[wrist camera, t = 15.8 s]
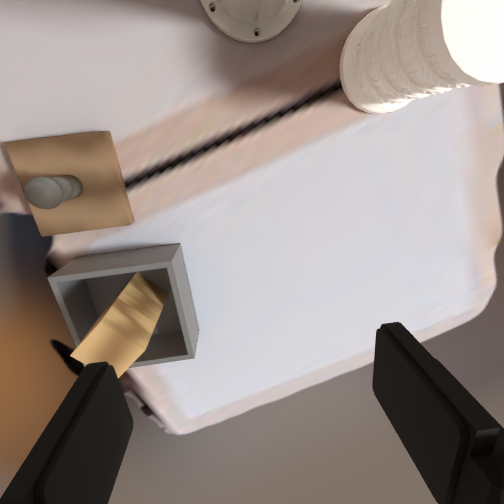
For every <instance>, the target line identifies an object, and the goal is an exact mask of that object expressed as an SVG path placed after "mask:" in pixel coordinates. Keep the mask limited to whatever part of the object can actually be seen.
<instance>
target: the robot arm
mask: <svg viewBox="0 0 504 504" xmlns="http://www.w3.org/2000/svg"><path fill="white" fill-rule="evenodd" d="M200 1H201V4H202V6H203V8H204V10H205V12H206V14H207V15H208V16H209V18H210V19H211V21H212V22H213V23H214V24H215V25H216V26H217V27H218V28H219V29H220V30H221V31H222V32H223V33H225V34H226V35H228V36H229V37H231V38H233V39H236V40H238V41H241V42H247V43H258V42H263V41H266V40H269V39H271V38H273V37H275V36H277V35H278V34H279V33H281V32H282V31H283V30H284V29H285V28H286V27H287V26H288V25H289V24H290V22H291V21H292V20H293V19H294V17H295V15H296V13H297V11H298V10H299V7H300V5H301V3H302V1H303V0H296V3H294V2H293V0H200ZM212 8H214V9H215V11H214V12H211V9H212ZM256 32H257V33H258V36H255V35H254V33H256ZM373 391H374V394H375V396H376V398H377V400H378V401H379V403H380V405H381V406H382V408H383V410H384V411H385V413H386V415H387V417H388V419H389V420H390V422H391V424H392V426H393V427H394V429H395V431H396V432H397V434H398V436H399V437H400V439H401V441H402V443H403V445H404V446H405V448H406V450H407V451H408V453H409V455H410V457H411V458H412V460H413V462H414V464H415V465H416V467H417V469H418V471H419V472H420V474H421V476H422V478H423V479H424V481H425V483H426V484H427V486H428V488H429V490H430V491H431V493H432V495H433V496H434V498H435V500H436V501H437V502H438V504H504V428H503V427H502V426H501V425H500V424H499V423H498V422H497V421H496V420H495V419H494V418H493V417H492V416H491V415H490V414H489V413H488V412H487V411H486V410H485V409H484V407H482V405H480V403H479V402H478V401H477V400H476V399H475V398H474V397H473V396H472V395H471V394H470V393H469V392H468V391H467V390H466V389H465V388H464V387H463V386H462V385H461V383H460V382H459V381H458V380H457V379H456V378H455V377H454V376H453V375H452V374H451V373H450V372H449V371H448V370H447V369H446V368H445V367H444V366H443V365H442V364H441V363H440V362H439V361H438V360H437V359H435V358H434V357H432V355H431V354H430V353H429V352H428V351H427V350H426V349H425V348H424V347H423V346H422V345H421V344H420V343H419V342H418V341H417V340H416V339H415V337H414V336H413V335H412V334H411V333H410V332H409V331H408V330H407V329H406V328H405V327H404V326H403V325H402V324H401V323H400V322H394V323H386V324H382V325H381V327H380V329H377V331H376V343H375V357H374V371H373ZM132 430H133V418H132V416H131V413H130V410H129V407H128V404H127V402H126V399H125V396H124V393H123V391H122V388H121V385H120V383H119V380H118V377H117V374H116V372H115V369H114V367H113V365H109V364H108V362H106V361H103V362H96V363H89V364H87V365H86V366H85V367H84V369H83V370H82V372H81V374H80V375H79V377H78V378H77V380H76V382H75V383H74V384H73V386H72V388H71V389H70V391H69V392H68V394H67V396H66V397H65V399H64V400H63V402H62V403H61V405H60V406H59V408H58V410H57V411H56V413H55V414H54V416H53V417H52V419H51V420H50V422H49V423H48V425H47V427H46V428H45V430H44V431H43V433H42V434H41V436H40V438H39V439H38V441H37V442H36V444H35V445H34V447H33V448H32V450H31V452H30V453H29V455H28V456H27V458H26V460H25V461H24V462H23V464H22V465H21V467H20V469H19V470H18V472H17V473H16V475H15V476H14V478H13V480H12V481H11V483H10V484H9V486H8V487H7V489H6V490H5V492H4V494H3V495H2V497H1V498H0V504H108V502H109V499H110V496H111V493H112V490H113V487H114V484H115V481H116V478H117V475H118V472H119V469H120V466H121V462H122V460H123V457H124V454H125V451H126V448H127V445H128V442H129V439H130V436H131V433H132Z"/></svg>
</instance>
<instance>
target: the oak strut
mask: <svg viewBox="0 0 504 504" xmlns="http://www.w3.org/2000/svg"><path fill="white" fill-rule="evenodd" d="M167 296H168V293H166V292H165V291H163V290H162V289H161V288H159V287H158V286H156V285H155V284H154V283H152V282H151V281H149V280H148V279H147V278H145V277H144V276H142V275H141V274H140V273H138V272H136V273H135V275H134V276H133V277H132V278H131V279H130V280H129V281H128V283H127V284H126V285H125V286H124V287H123V288H122V289H121V291H120V292H119V293H118V294H117V295H116V296H115V297H114V299H113V300H112V301H111V303H110V304H109V305H108V307H107V308H106V309H105V311H104V312H103V313H102V315H101V316H100V317H99V318H98V320H97V321H96V322H95V324H94V325H93V326H92V328H91V329H90V330H89V332H88V333H87V334H86V336H85V337H84V338H83V340H82V341H81V342H80V344H79V345H78V346H77V347H76V349H75V350H74V351H73V353H72V354H71V355H70V356H72V357H73V358H75V359H77V360H79V361H81V362H82V363H84V364H86V365H87V364H89V363H96V362H103V361H106V362H108V364H109V365H113V367H114V369H115V372H116V374H117V377H118V378H119V377H120V376H121V375H122V374H123V373H124V372H125V371H126V370H127V369H128V368H129V367H130V366H131V365H132V364H133V362H134V361H135V360H136V359H137V358H138V357H139V356H140V355H141V354H142V353H143V352H144V351H145V350H146V347H147V345H148V343H149V340H150V338H151V335H152V333H153V330H154V328H155V326H156V323H157V321H158V318H159V316H160V313H161V311H162V308H163V306H164V304H165V301H166V299H167Z"/></svg>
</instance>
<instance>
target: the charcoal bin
mask: <svg viewBox="0 0 504 504" xmlns="http://www.w3.org/2000/svg"><path fill="white" fill-rule="evenodd" d="M136 272H138V273H140V274H141V275H142V276H144V277H145V278H147V279H148V280H149V281H151V282H152V283H154V284H155V285H156V286H158V287H159V288H161V289H162V290H163V291H165V292H166V293H168V296H167V299H166V301H165V304H164V306H163V308H162V311H161V313H160V316H159V318H158V321H157V323H156V326H155V328H154V330H153V333H152V335H151V338H150V340H149V343H148V345H147V347H146V350H145V351H144V352H143V353H142V354H141V355H140V356H139V357H138V358H137V359H136V360H135V361H134V362H133V364H132V365H131V366H130V367H129V368H132V367H139V366H145V365H152V364H159V363H166V362H173V361H180V360H186V359H193V358H195V353H196V346H197V340H198V334H199V326H198V321H197V317H196V312H195V308H194V303H193V298H192V294H191V289H190V285H189V280H188V275H187V271H186V266H185V262H184V257H183V253H182V248H181V243H179V244H172V245H164V246H157V247H149V248H142V249H134V250H127V251H119V252H112V253H104V254H97V255H89V256H82V257H75V258H74V259H73V260H71V261H70V262H69V263H67V264H66V265H64V266H63V267H62V268H60V269H59V270H57V271H56V272H55V273H53V274H52V275H51V276H49V277H48V281H49V283H50V285H51V288H52V290H53V293H54V295H55V297H56V300H57V302H58V305H59V307H60V309H61V312H62V314H63V317H64V319H65V321H66V324H67V326H68V329H69V331H70V333H71V336H72V338H73V341H74V343H75V345H76V347H77V346H78V345H79V344H80V342H81V341H82V340H83V338H84V337H85V336H86V334H87V333H88V332H89V330H90V329H91V328H92V326H93V325H94V324H95V322H96V321H97V320H98V318H99V317H100V316H101V315H102V313H103V312H104V311H105V309H106V308H107V307H108V305H109V304H110V303H111V301H112V300H113V299H114V297H115V296H116V295H117V294H118V293H119V292H120V291H121V289H122V288H123V287H124V286H125V285H126V284H127V283H128V281H129V280H130V279H131V278H132V277H133V276H134V275H135V273H136ZM83 365H84V367H85V366H86V364H84V363H83Z"/></svg>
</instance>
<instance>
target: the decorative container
mask: <svg viewBox="0 0 504 504" xmlns="http://www.w3.org/2000/svg"><path fill="white" fill-rule="evenodd" d="M339 69H340V80H341V84H342V88H343V91H344V93H345V94H346V96H347V98H348V99H349V101H350V102H351V103H352V104H353V105H354V106H356V107H357V108H358V109H360V110H362V111H364V112H366V113H372V114H382V113H387V112H392V111H395V110H397V109H399V108H401V107H404V106H405V105H406V104H408V103H409V102H410V101H411V100H415V99H417V98H419V99H421V98H423V97H427V96H429V95H430V94H433V95H434V94H437V93H443V92H445V91H450V90H451V89H454V88H461V87H463V86H464V87H468V86H470V85H475V86H488V85H493V84H499V83H503V82H504V0H393V1H392V2H391V3H390V4H389V5H383V6H381V7H379V8H377V9H375V10H373V11H371V12H370V13H369V14H367V15H366V16H365V17H364V18H363V19H362V20H361V21H360V22H359V23H358V24H357V25H356V26H355V27H354V28H353V30H352V31H351V33H350V34H349V36H348V37H347V39H346V42H345V44H344V47H343V49H342V53H341V58H340V64H339Z"/></svg>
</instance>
